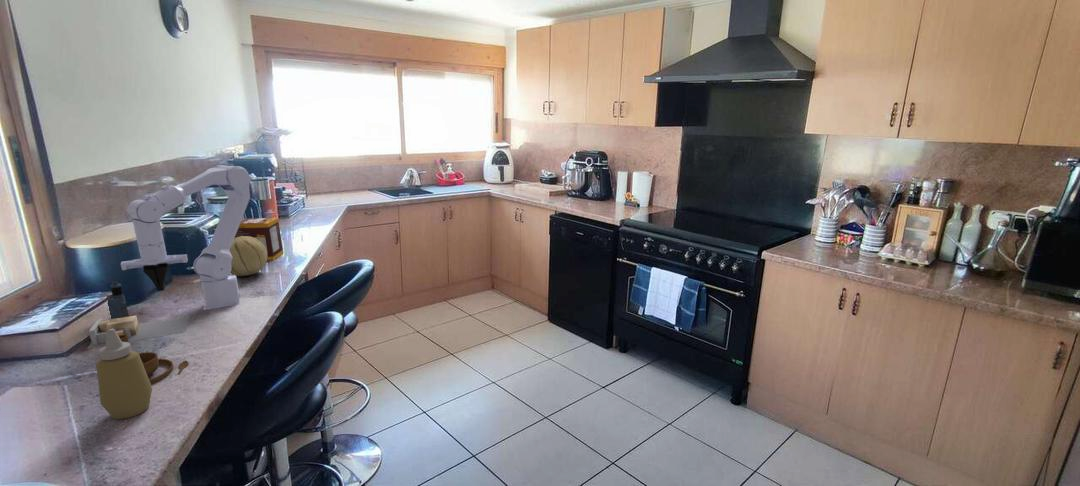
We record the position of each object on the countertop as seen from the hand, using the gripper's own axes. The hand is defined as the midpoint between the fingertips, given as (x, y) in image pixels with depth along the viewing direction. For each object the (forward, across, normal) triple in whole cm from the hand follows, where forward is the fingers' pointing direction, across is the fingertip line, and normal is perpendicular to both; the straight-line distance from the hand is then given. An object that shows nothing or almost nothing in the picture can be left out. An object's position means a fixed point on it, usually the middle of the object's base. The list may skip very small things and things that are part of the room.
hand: (161, 289), depth 138 cm
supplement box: (+10, +23, +60) cm, 65 cm away
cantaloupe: (+10, +19, +37) cm, 43 cm away
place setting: (+11, 0, -29) cm, 31 cm away
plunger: (+9, -9, -9) cm, 16 cm away
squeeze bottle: (+10, 0, -49) cm, 50 cm away
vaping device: (+10, -12, +8) cm, 18 cm away
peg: (+9, -9, -5) cm, 14 cm away
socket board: (+10, -5, -6) cm, 12 cm away
